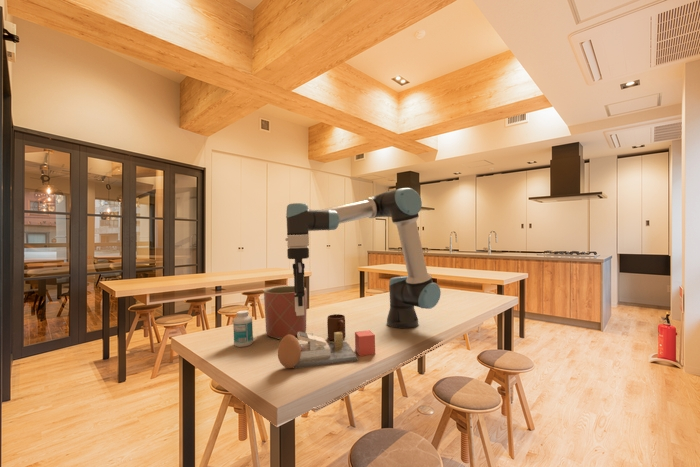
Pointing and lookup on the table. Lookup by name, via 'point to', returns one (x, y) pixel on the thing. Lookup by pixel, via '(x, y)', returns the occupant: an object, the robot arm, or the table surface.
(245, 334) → the pill bottle
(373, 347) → the red block
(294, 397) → the table surface
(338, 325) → the mug
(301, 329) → the planter
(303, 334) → the rocker
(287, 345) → the egg
